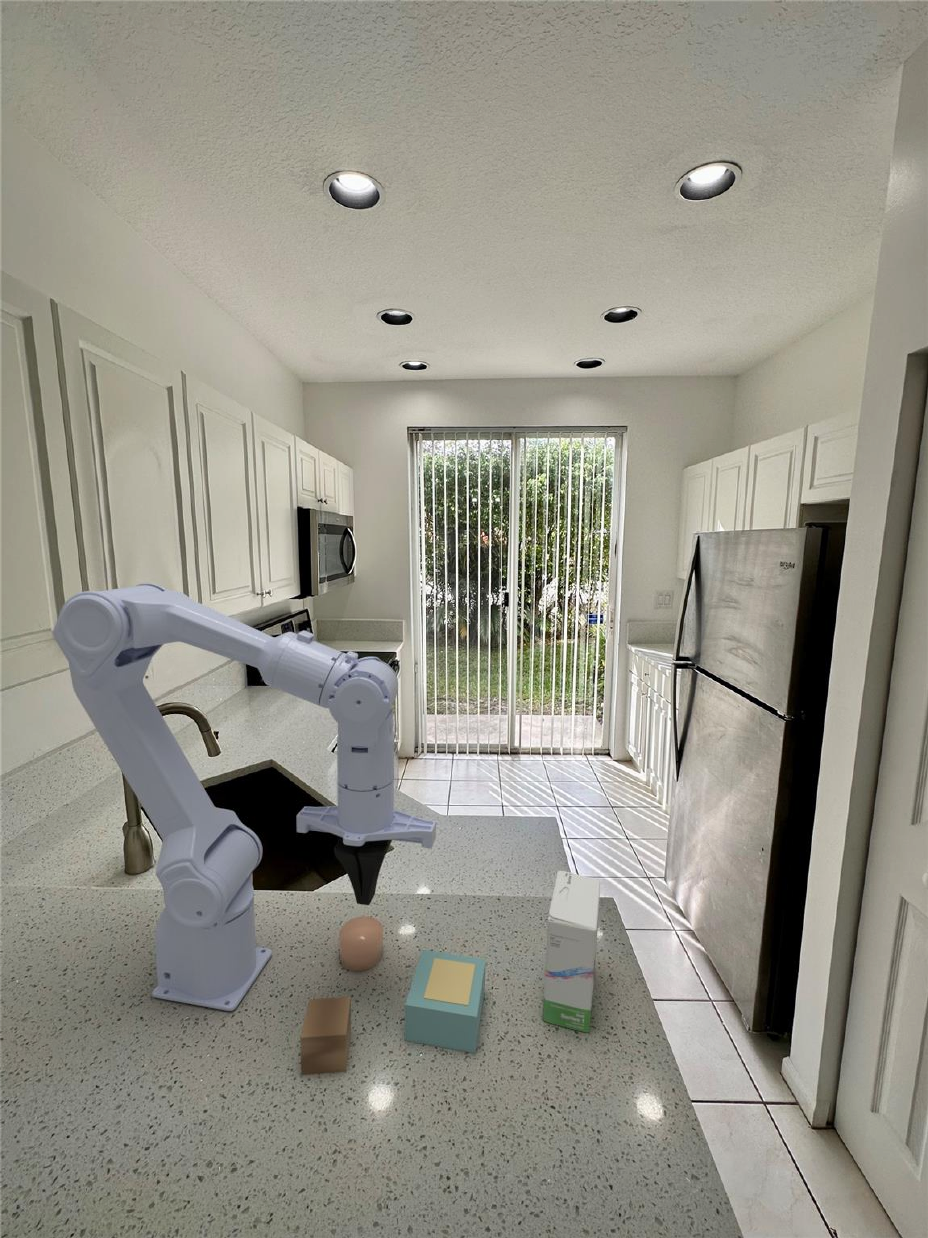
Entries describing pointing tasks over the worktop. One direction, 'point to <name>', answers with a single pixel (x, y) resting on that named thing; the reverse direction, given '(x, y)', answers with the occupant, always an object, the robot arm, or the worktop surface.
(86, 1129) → the worktop surface
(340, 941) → the peach rounded dome
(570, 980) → the ink box
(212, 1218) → the worktop surface
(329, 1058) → the walnut cube
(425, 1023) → the teal block
